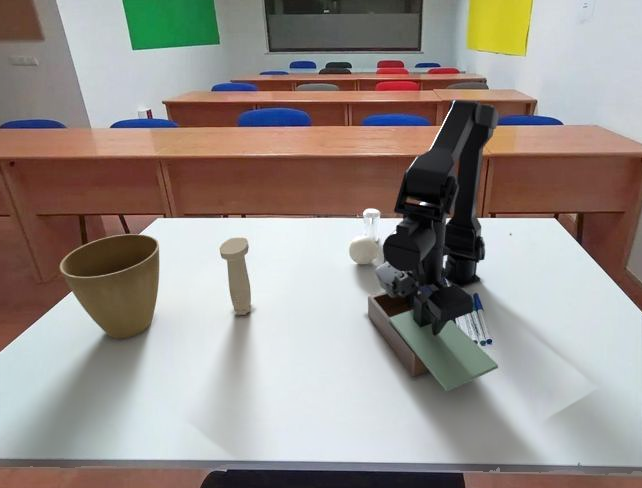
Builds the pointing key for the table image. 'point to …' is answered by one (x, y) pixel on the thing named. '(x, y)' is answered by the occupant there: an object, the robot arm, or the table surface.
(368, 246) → the cream round ball
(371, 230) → the milkshake
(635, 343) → the table surface
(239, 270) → the handle
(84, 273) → the plant pot
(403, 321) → the sliding door
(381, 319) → the brown wooden box
